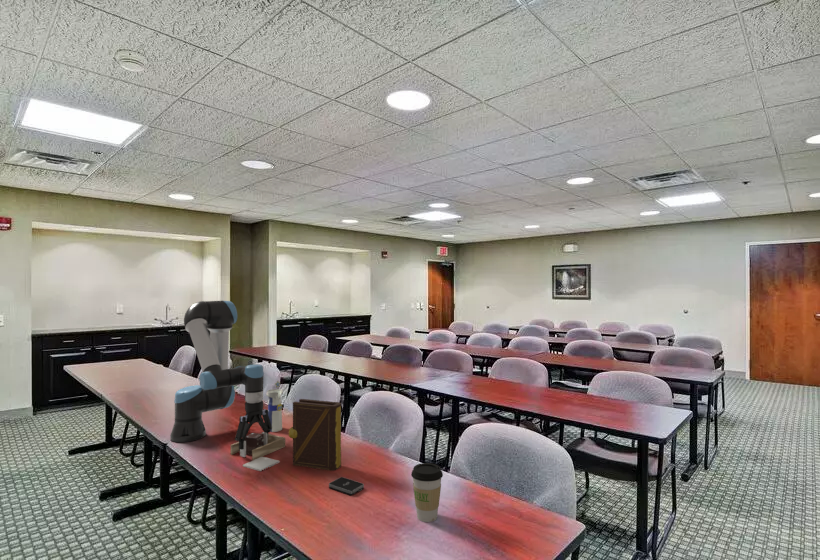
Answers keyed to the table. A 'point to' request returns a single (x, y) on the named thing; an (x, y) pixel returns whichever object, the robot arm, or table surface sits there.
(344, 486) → the external hard drive
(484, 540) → the table surface
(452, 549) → the table surface
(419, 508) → the coffee cup
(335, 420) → the book
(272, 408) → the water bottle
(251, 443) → the box
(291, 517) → the table surface
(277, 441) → the wooden frame
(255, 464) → the tile
